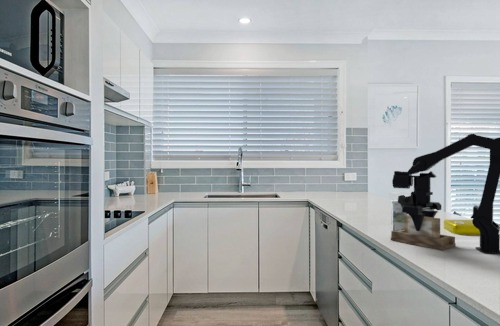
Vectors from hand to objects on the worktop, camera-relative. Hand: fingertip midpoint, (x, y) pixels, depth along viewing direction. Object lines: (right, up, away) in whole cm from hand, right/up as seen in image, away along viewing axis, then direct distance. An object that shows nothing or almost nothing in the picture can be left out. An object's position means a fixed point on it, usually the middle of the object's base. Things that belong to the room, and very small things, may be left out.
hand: (422, 230), depth 136 cm
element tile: (+30, -5, +22) cm, 38 cm away
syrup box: (-2, -5, +17) cm, 18 cm away
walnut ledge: (0, -5, 0) cm, 5 cm away
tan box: (0, -4, 0) cm, 4 cm away
